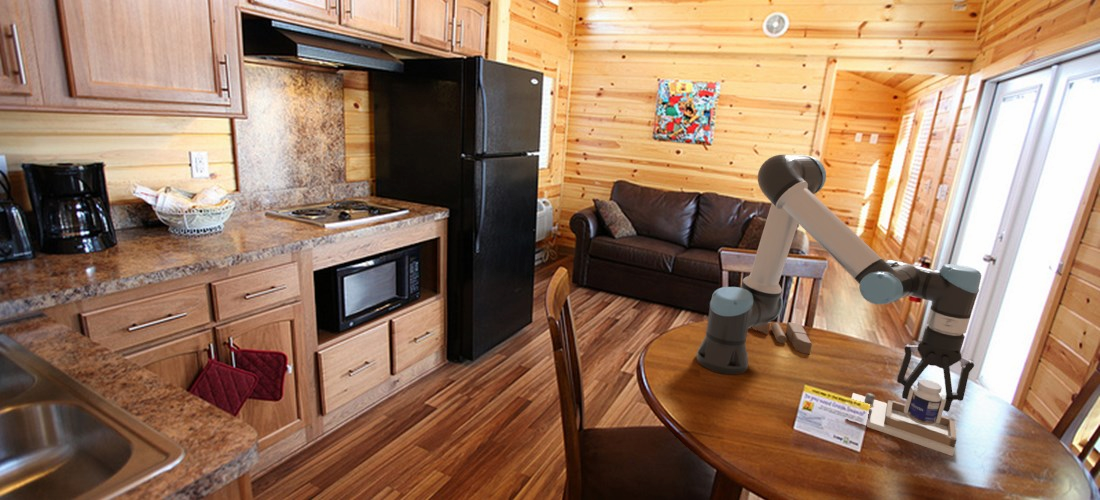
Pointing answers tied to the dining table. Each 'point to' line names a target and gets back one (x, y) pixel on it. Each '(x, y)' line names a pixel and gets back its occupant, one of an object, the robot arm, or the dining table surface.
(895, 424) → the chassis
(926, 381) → the pill bottle
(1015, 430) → the dining table surface
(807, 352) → the wooden block set
